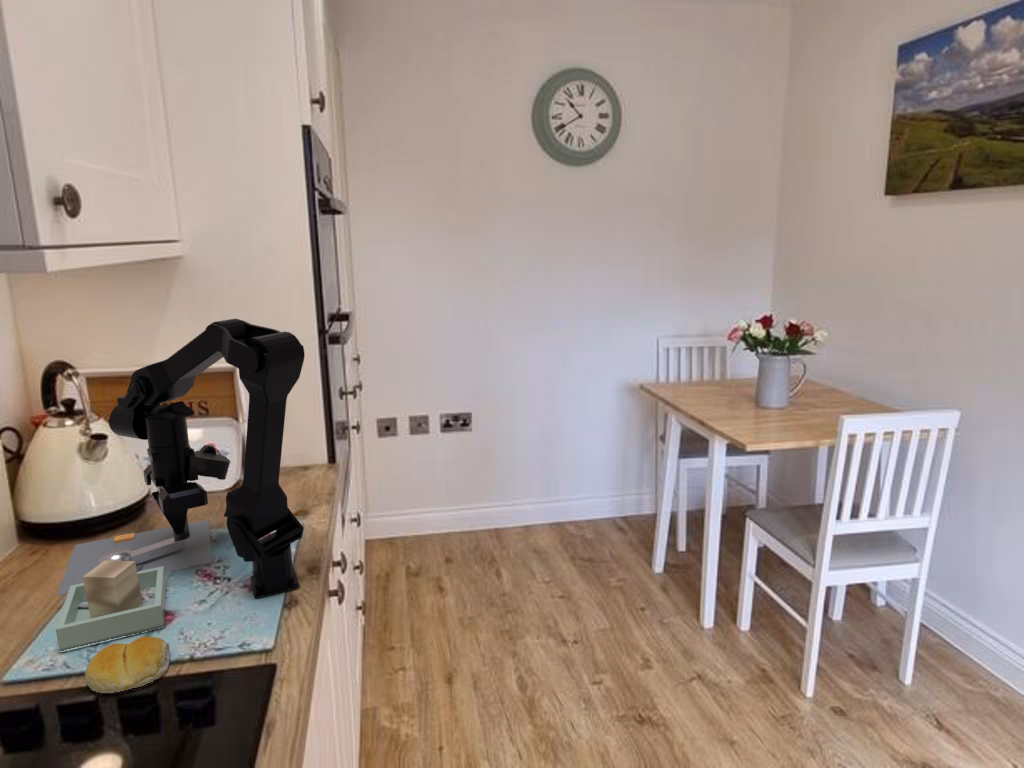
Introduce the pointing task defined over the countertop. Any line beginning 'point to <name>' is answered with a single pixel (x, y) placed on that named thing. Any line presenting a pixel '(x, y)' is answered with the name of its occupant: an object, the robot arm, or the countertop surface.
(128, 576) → the block
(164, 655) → the bread roll
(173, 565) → the crank base
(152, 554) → the crank
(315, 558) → the countertop surface
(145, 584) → the tray
